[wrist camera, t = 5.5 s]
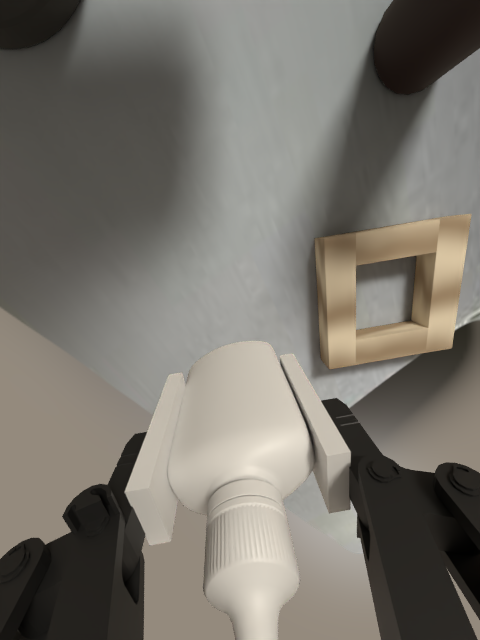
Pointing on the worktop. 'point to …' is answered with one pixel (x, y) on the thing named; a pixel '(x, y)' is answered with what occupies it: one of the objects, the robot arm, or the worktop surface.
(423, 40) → the vinegar
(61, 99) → the worktop surface
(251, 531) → the eye dropper bottle
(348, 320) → the square wooden frame
